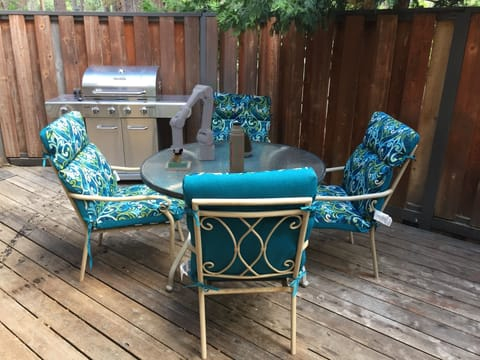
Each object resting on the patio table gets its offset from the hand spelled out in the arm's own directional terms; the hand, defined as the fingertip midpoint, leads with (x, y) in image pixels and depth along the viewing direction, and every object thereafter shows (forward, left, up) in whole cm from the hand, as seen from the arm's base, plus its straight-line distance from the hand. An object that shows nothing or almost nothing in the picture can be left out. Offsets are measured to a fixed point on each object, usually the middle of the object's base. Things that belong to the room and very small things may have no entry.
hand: (178, 161), depth 237 cm
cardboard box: (+1, +4, -1) cm, 4 cm away
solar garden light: (-18, -39, -3) cm, 43 cm away
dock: (0, +3, -2) cm, 4 cm away
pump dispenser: (-39, -18, -3) cm, 43 cm away
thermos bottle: (-33, +15, -3) cm, 36 cm away
